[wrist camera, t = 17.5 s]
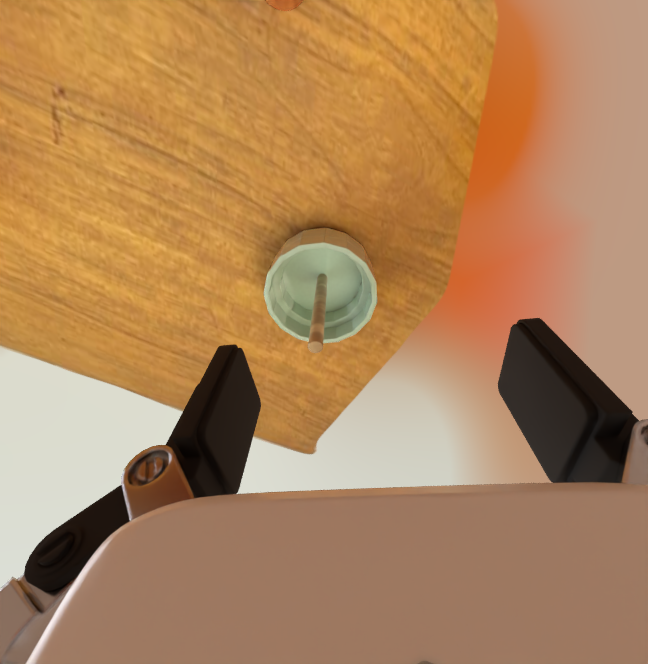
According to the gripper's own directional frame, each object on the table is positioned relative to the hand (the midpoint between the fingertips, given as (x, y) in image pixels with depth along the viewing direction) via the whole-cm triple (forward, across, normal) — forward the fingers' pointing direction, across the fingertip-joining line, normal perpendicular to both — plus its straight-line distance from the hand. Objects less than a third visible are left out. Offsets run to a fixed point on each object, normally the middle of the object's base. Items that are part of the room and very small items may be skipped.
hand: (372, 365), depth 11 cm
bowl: (+30, +4, +10) cm, 32 cm away
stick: (+30, +4, +10) cm, 32 cm away
